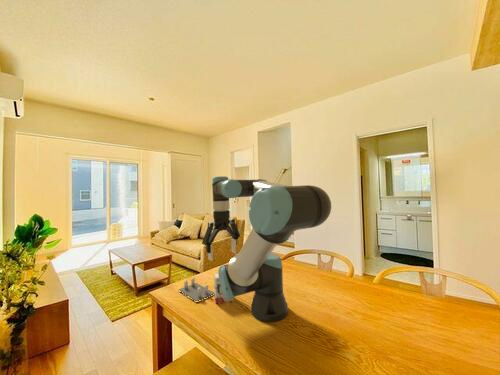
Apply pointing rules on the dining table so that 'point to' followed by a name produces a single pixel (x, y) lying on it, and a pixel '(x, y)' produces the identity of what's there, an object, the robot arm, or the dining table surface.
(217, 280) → the ink box
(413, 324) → the dining table surface
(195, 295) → the pin tray
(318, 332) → the dining table surface
